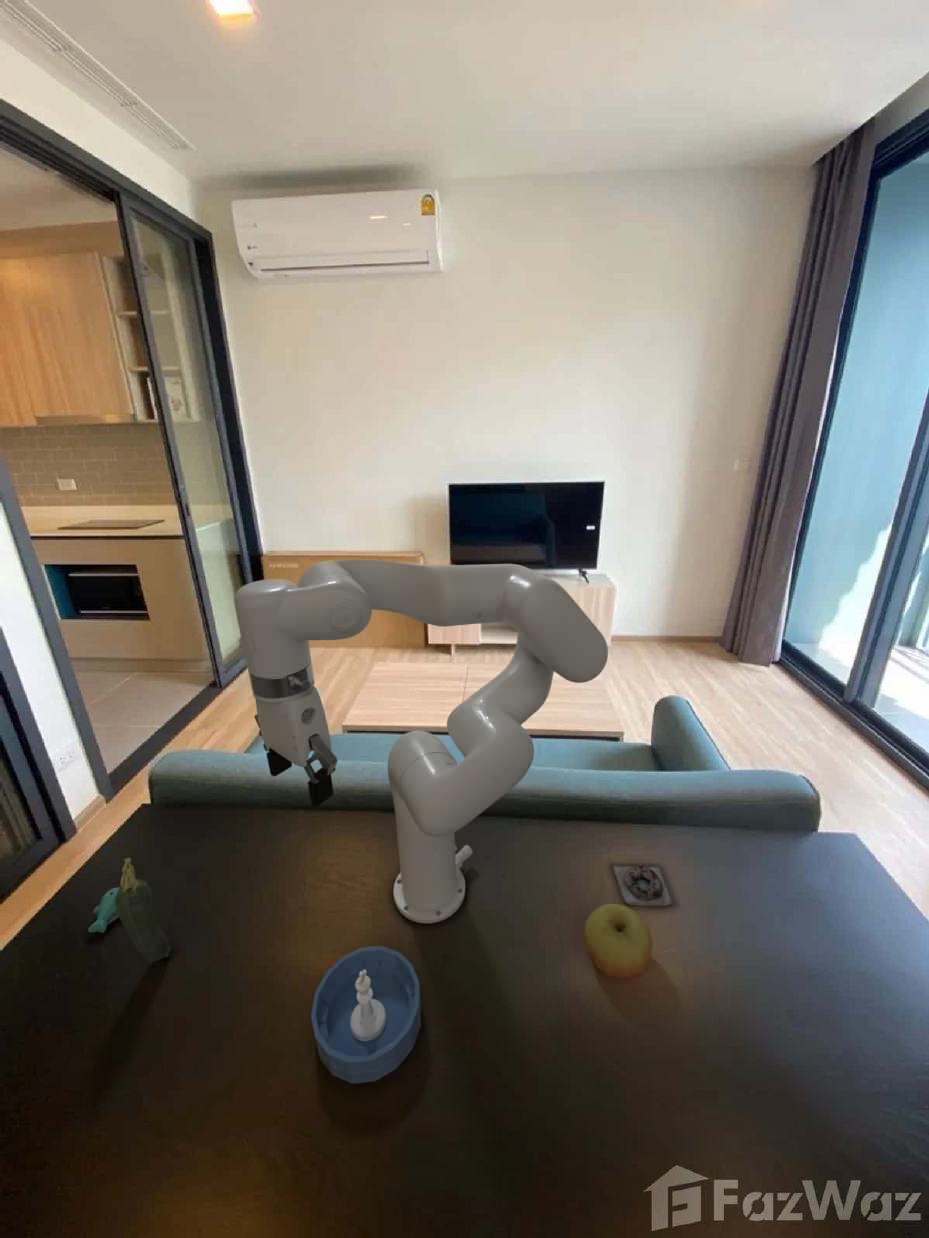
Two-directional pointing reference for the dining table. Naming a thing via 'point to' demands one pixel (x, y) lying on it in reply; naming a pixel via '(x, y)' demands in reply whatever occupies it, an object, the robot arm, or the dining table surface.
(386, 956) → the bowl
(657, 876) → the donut
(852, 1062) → the dining table surface
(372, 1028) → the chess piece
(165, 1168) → the dining table surface
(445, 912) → the robot arm
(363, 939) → the dining table surface
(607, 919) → the apple
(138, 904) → the vegetable
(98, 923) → the whale figurine
